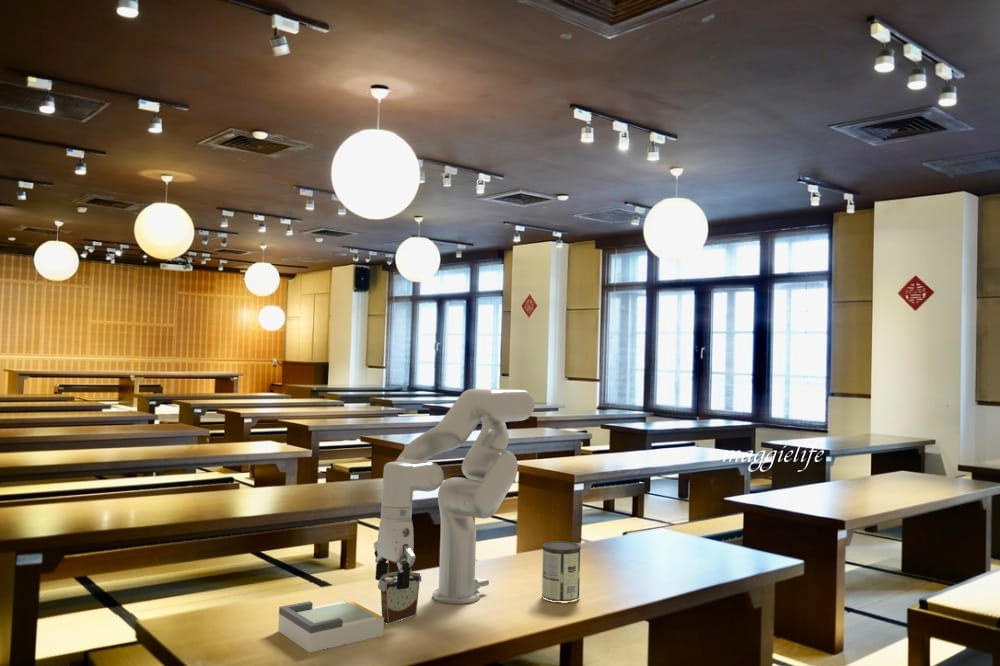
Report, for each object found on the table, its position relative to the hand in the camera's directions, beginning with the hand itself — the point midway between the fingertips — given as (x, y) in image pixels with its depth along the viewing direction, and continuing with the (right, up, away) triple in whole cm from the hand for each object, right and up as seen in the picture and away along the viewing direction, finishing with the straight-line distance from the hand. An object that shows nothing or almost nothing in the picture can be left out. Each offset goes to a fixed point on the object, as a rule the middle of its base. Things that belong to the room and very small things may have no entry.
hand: (391, 584), depth 189 cm
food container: (0, -8, 0) cm, 8 cm away
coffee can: (+43, -10, +20) cm, 48 cm away
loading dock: (-12, -7, -13) cm, 19 cm away
